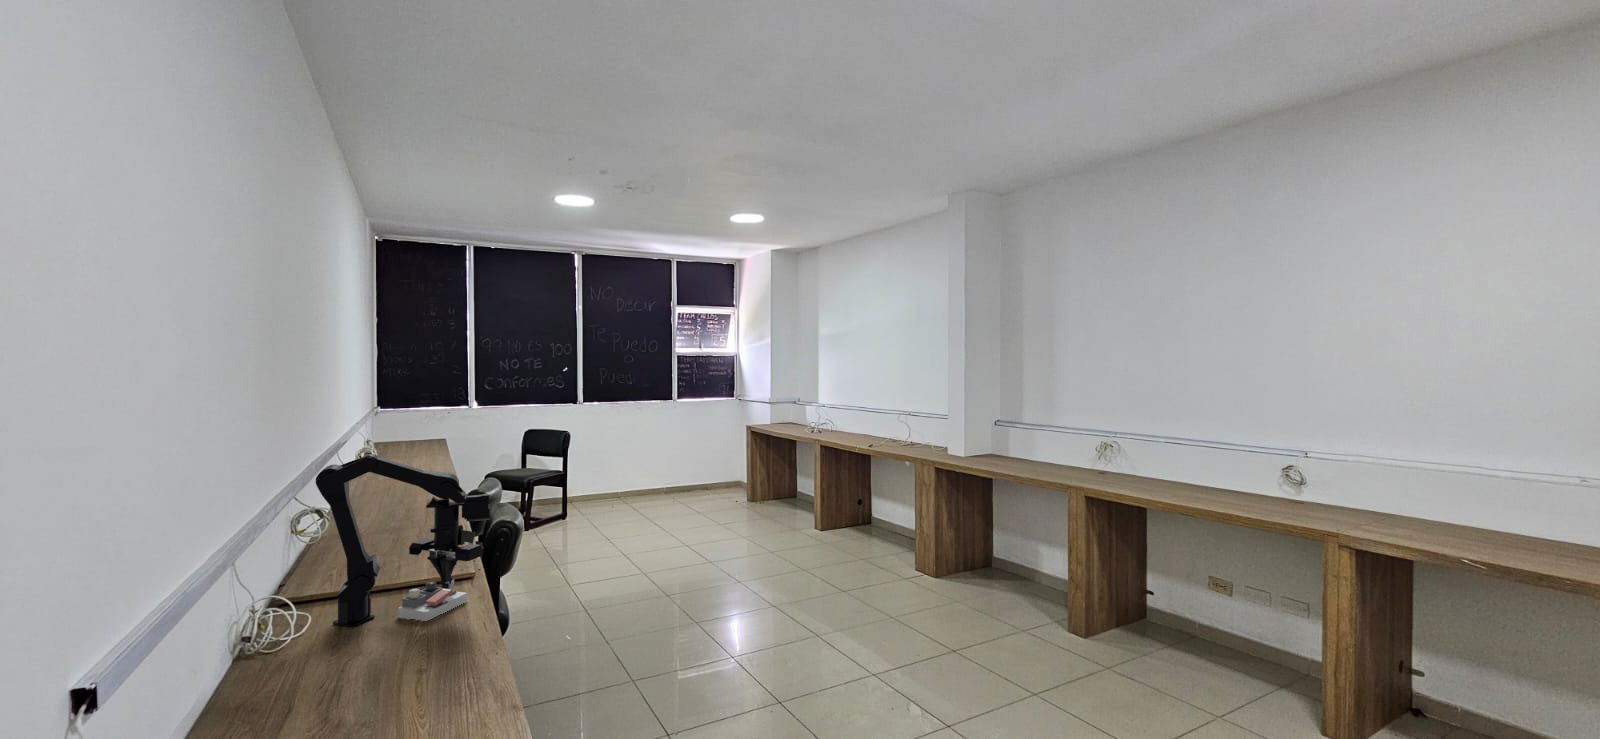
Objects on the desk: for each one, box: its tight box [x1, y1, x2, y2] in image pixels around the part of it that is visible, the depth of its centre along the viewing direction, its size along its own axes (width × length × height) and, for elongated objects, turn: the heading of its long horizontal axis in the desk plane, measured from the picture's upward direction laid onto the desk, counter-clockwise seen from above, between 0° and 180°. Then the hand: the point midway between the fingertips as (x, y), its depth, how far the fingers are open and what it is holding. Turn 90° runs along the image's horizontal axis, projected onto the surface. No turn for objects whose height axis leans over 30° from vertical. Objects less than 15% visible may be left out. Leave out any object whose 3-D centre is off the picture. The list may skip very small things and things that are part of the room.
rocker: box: [426, 588, 453, 606], centre depth 178 cm, size 6×3×1 cm, turn 165°
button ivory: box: [408, 588, 421, 600], centre depth 177 cm, size 2×2×2 cm
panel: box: [397, 579, 468, 621], centre depth 180 cm, size 14×9×6 cm, turn 165°
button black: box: [425, 581, 437, 592], centre depth 182 cm, size 2×2×2 cm
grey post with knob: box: [440, 562, 458, 590], centre depth 193 cm, size 7×5×10 cm
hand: (446, 582), depth 180 cm, fingers closed
